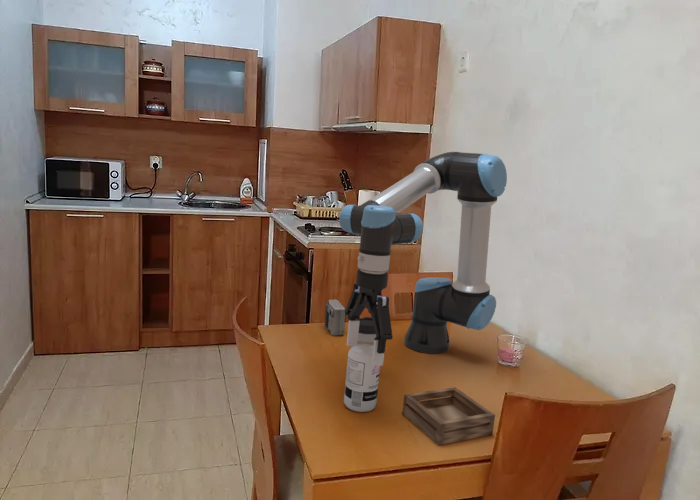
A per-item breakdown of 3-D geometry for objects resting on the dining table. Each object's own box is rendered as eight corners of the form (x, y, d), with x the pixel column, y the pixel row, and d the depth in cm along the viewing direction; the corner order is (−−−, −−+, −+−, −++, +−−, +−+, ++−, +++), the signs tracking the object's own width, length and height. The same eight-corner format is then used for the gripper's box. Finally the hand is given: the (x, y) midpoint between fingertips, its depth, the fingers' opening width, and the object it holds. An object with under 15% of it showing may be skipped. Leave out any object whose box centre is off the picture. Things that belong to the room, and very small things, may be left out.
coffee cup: (375, 378, 157) (380, 327, 155) (343, 373, 159) (348, 322, 156) (380, 366, 166) (384, 318, 163) (350, 361, 168) (354, 314, 165)
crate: (453, 405, 145) (455, 387, 144) (492, 434, 131) (495, 414, 130) (402, 413, 138) (404, 394, 137) (438, 445, 124) (440, 424, 124)
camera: (323, 325, 199) (325, 298, 197) (338, 325, 200) (341, 298, 199) (329, 336, 188) (331, 308, 186) (346, 336, 190) (348, 308, 188)
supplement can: (342, 397, 144) (347, 342, 141) (374, 398, 145) (379, 343, 142) (344, 412, 136) (350, 354, 133) (378, 413, 137) (384, 355, 134)
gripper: (336, 259, 143) (329, 338, 147) (384, 283, 121) (374, 376, 125) (362, 259, 146) (355, 336, 150) (414, 283, 125) (403, 372, 128)
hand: (364, 354), depth 138 cm, fingers open, 13 cm apart
